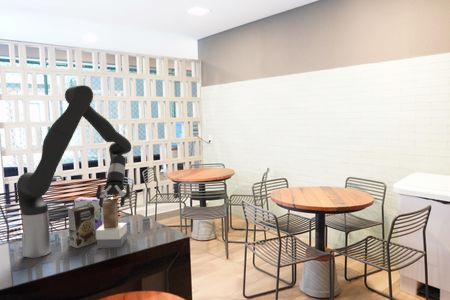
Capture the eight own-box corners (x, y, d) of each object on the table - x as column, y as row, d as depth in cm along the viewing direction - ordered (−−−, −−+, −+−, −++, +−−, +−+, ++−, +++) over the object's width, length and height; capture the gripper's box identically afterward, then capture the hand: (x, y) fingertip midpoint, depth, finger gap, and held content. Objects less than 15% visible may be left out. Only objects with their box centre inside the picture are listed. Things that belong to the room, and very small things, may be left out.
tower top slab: (96, 239, 149) (95, 230, 148) (104, 231, 159) (104, 223, 158) (119, 239, 149) (119, 229, 148) (127, 231, 158) (126, 222, 158)
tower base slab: (97, 249, 149) (97, 239, 148) (103, 240, 159) (103, 232, 158) (121, 247, 150) (121, 238, 149) (126, 239, 159) (125, 230, 159)
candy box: (75, 233, 168) (72, 199, 166) (82, 229, 174) (79, 196, 172) (102, 234, 166) (100, 200, 164) (108, 230, 172) (106, 197, 170)
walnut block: (103, 228, 151) (102, 203, 149) (106, 224, 156) (105, 200, 154) (115, 227, 151) (114, 202, 150) (118, 224, 156) (117, 199, 155)
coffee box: (77, 248, 148) (75, 211, 147) (69, 245, 152) (66, 209, 151) (96, 242, 156) (94, 206, 154) (88, 239, 160) (86, 204, 158)
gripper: (98, 171, 159) (92, 202, 149) (130, 170, 160) (126, 201, 150) (102, 180, 165) (96, 211, 155) (133, 179, 166) (129, 209, 156)
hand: (111, 206), depth 153 cm, fingers open, 8 cm apart
